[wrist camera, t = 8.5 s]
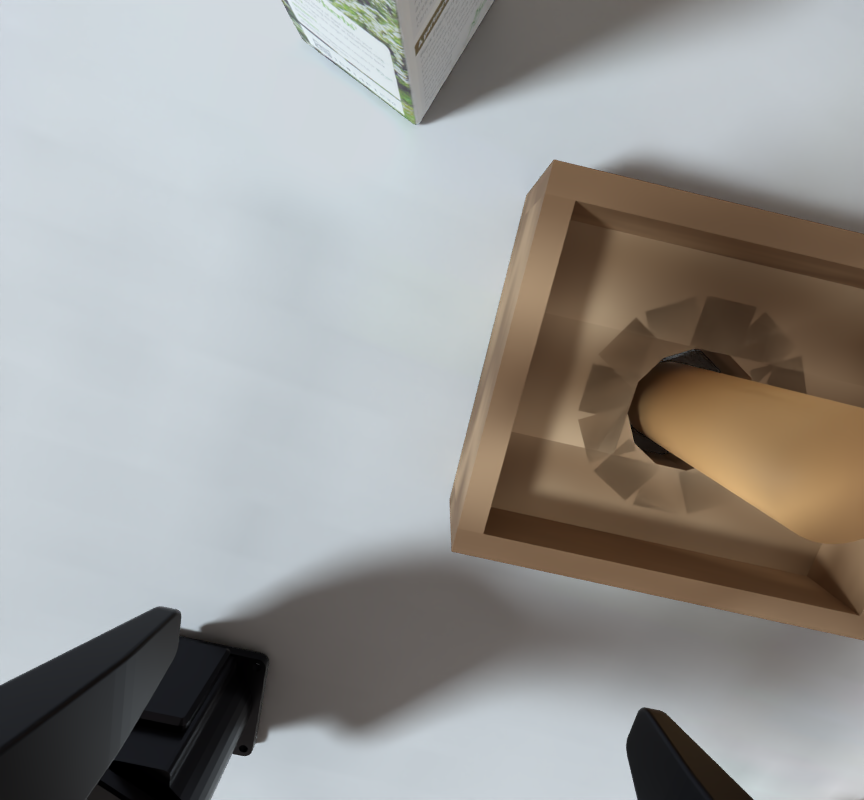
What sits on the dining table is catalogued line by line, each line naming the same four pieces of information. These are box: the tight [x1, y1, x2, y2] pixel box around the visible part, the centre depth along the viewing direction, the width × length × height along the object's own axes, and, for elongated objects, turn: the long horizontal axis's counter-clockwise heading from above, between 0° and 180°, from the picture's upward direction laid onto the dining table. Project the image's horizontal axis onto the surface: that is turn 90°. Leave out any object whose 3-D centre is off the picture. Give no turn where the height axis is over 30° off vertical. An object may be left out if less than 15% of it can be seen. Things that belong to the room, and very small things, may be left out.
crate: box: [450, 160, 864, 640], centre depth 17 cm, size 14×17×4 cm
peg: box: [628, 362, 864, 544], centre depth 15 cm, size 4×4×9 cm
